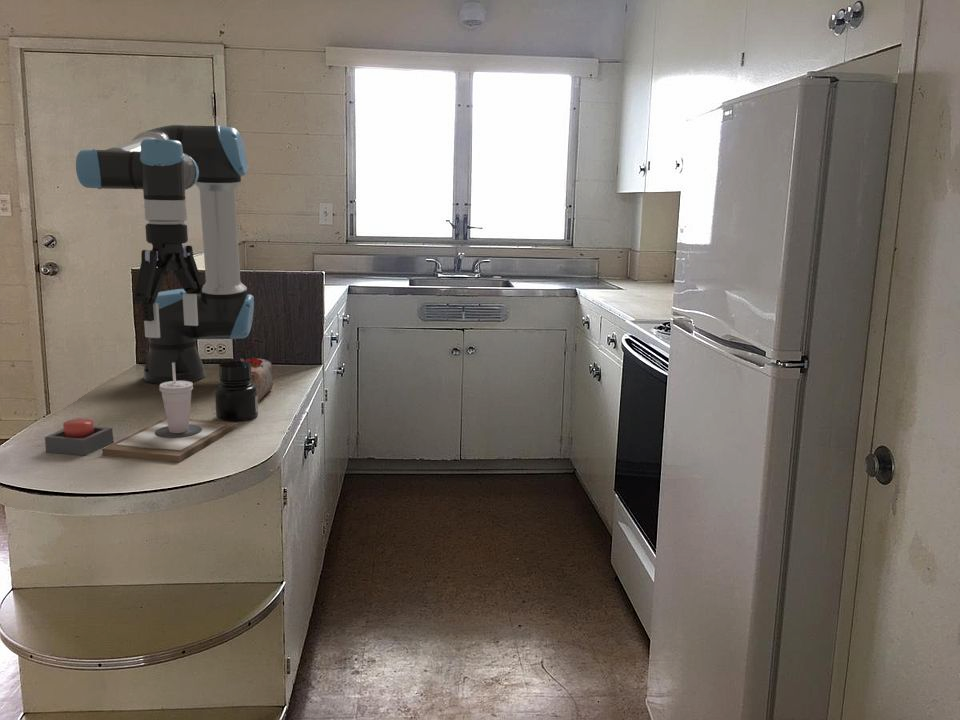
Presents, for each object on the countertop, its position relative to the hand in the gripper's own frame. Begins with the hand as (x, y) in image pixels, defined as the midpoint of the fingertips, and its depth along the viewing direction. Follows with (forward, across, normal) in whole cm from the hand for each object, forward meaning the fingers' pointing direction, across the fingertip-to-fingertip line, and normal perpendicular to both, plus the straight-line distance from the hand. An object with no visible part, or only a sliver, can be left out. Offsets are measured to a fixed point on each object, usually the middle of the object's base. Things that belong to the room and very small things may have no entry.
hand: (172, 331), depth 157 cm
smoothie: (+21, 0, 0) cm, 21 cm away
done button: (+19, +10, -15) cm, 27 cm away
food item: (+23, -33, -1) cm, 40 cm away
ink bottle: (+22, -17, +4) cm, 28 cm away
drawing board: (+22, +2, 0) cm, 22 cm away
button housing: (+22, +10, -15) cm, 28 cm away
